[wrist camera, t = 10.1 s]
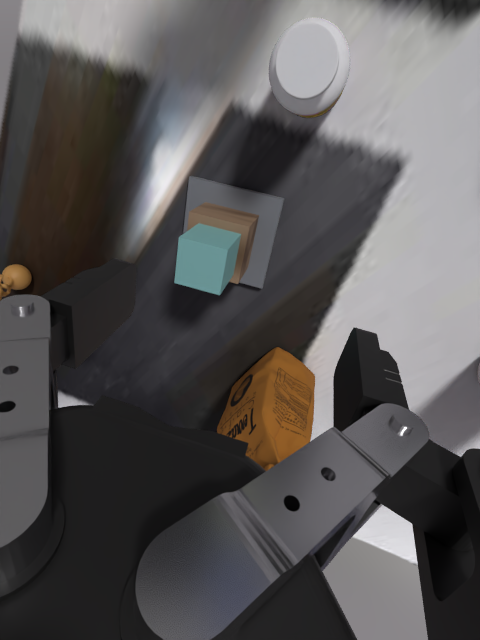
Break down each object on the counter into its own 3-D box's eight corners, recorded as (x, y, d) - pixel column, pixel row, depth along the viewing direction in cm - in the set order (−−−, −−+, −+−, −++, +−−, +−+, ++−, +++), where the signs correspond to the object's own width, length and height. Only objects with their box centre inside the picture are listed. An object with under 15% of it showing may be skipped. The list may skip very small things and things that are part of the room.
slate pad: (191, 175, 44) (189, 176, 44) (284, 198, 43) (283, 199, 42) (182, 264, 50) (179, 266, 50) (263, 285, 49) (262, 288, 48)
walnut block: (205, 202, 45) (189, 211, 39) (259, 215, 44) (249, 226, 39) (198, 254, 48) (182, 269, 43) (248, 267, 47) (237, 284, 42)
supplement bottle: (287, 125, 40) (270, 124, 29) (275, 55, 37) (251, 24, 26) (349, 107, 38) (357, 98, 27) (341, 31, 35) (346, -14, 24)
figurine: (21, 245, 55) (-50, 272, 45) (54, 268, 56) (-8, 299, 45) (10, 284, 59) (-58, 316, 49) (41, 304, 60) (-19, 341, 50)
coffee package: (225, 377, 58) (175, 495, 40) (279, 335, 52) (251, 451, 34) (267, 414, 60) (238, 545, 41) (324, 379, 54) (321, 512, 35)
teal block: (198, 223, 40) (179, 237, 35) (241, 234, 39) (227, 249, 34) (193, 264, 42) (174, 282, 37) (233, 274, 42) (219, 295, 37)
